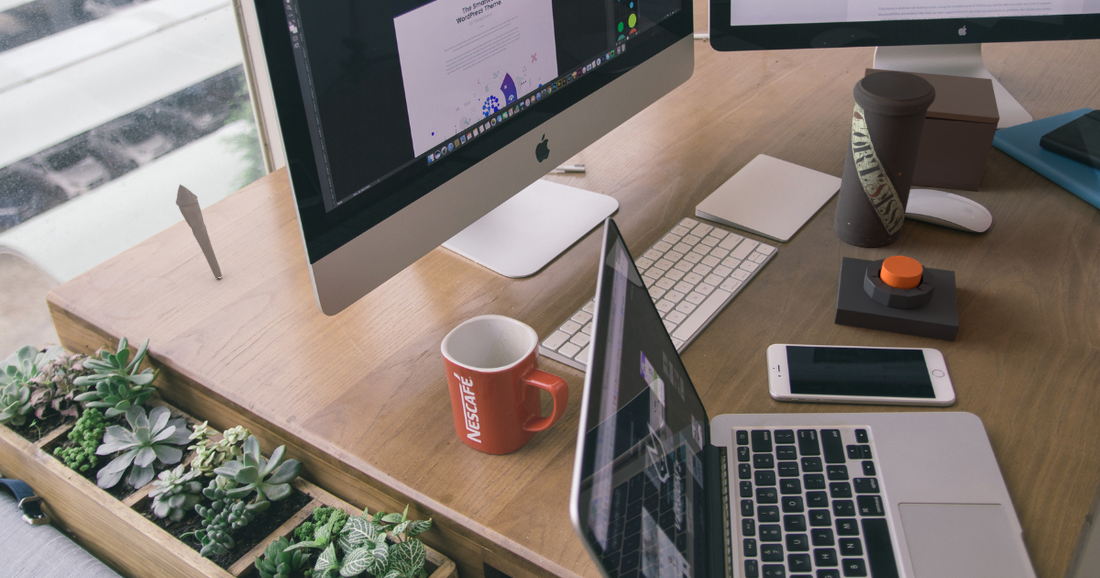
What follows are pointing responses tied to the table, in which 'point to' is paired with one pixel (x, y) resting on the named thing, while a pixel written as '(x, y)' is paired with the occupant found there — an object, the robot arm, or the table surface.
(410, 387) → the table surface
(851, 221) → the container
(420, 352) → the table surface
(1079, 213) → the table surface
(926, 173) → the brown box
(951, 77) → the brown piece
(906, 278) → the button
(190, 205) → the grey arrowhead stake
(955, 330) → the dark grey button base
